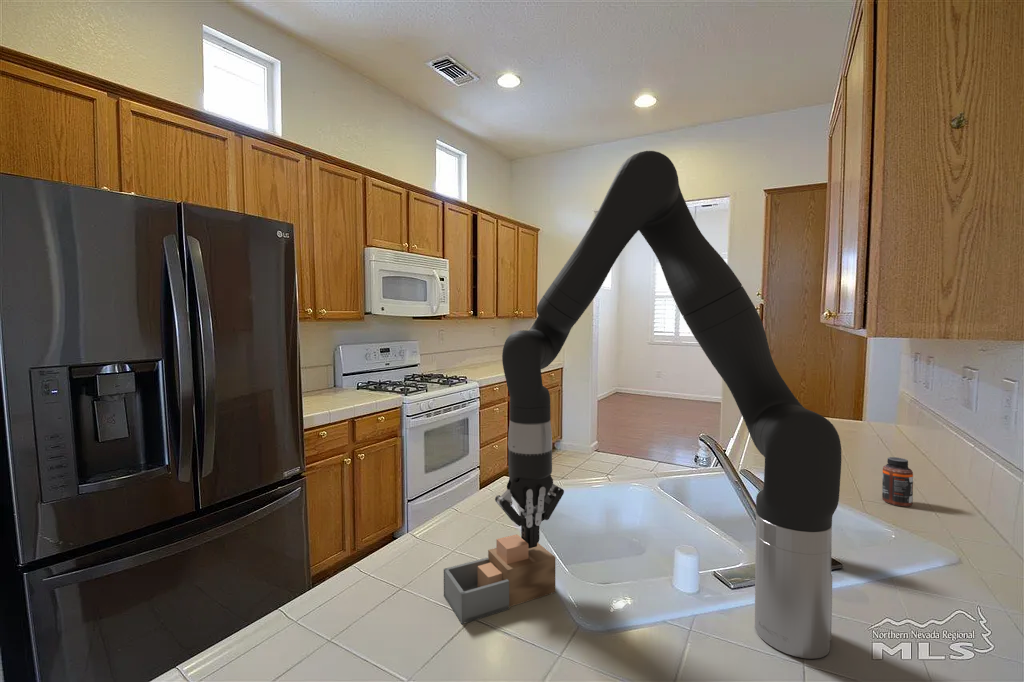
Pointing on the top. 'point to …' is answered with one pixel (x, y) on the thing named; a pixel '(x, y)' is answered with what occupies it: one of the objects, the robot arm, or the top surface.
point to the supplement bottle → (897, 482)
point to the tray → (473, 592)
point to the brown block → (527, 574)
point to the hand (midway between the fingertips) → (530, 545)
